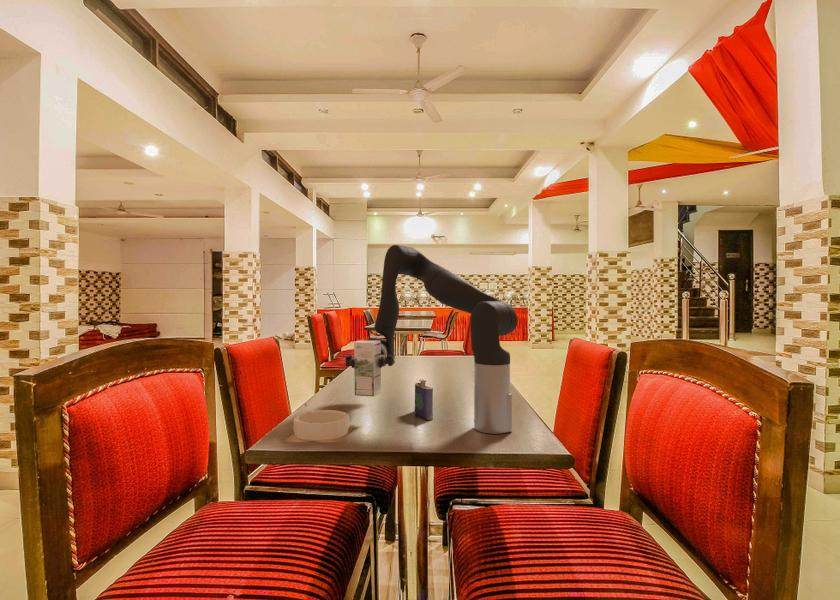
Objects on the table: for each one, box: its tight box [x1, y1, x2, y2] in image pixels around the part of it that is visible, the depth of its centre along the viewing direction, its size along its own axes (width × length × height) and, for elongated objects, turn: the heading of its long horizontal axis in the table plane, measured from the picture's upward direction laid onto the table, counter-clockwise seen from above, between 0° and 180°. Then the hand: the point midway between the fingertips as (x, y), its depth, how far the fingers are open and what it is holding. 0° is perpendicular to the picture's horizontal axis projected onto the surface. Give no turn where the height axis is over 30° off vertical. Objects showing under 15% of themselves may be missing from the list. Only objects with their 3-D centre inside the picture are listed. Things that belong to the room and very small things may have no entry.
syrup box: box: [353, 339, 382, 397], centre depth 120 cm, size 6×6×14 cm
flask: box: [413, 378, 434, 421], centre depth 128 cm, size 9×3×11 cm, turn 25°
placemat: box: [284, 424, 355, 443], centre depth 110 cm, size 14×14×1 cm
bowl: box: [293, 409, 350, 441], centre depth 110 cm, size 13×13×4 cm
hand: (366, 363), depth 118 cm, fingers closed on syrup box, 6 cm apart
